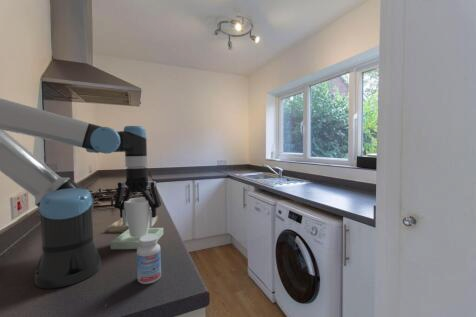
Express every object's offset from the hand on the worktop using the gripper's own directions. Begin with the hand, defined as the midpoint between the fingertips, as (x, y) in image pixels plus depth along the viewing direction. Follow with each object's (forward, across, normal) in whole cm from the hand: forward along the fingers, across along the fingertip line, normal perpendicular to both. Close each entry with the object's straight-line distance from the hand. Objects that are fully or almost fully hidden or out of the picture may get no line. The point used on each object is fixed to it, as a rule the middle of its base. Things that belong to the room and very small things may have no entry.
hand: (138, 225), depth 87 cm
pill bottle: (+6, -14, +25) cm, 29 cm away
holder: (+6, +10, -17) cm, 20 cm away
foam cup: (+3, 0, 0) cm, 3 cm away
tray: (+6, 0, 0) cm, 6 cm away
